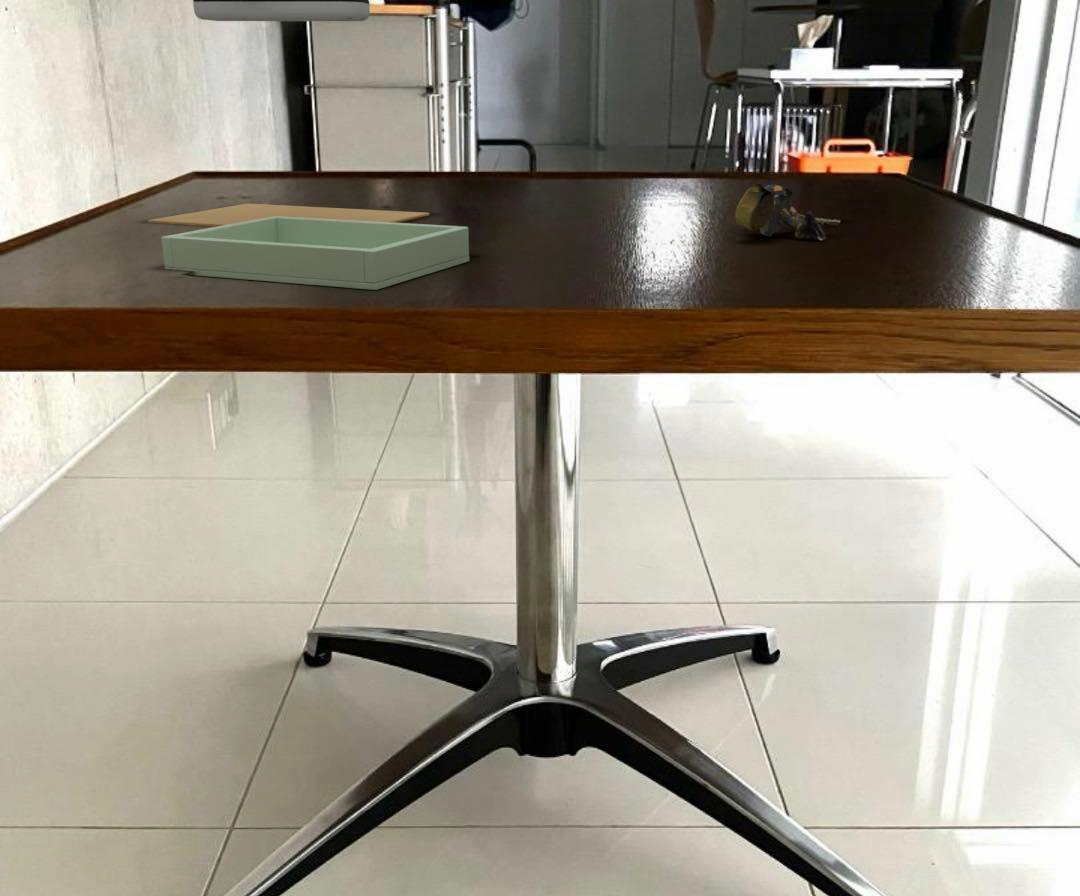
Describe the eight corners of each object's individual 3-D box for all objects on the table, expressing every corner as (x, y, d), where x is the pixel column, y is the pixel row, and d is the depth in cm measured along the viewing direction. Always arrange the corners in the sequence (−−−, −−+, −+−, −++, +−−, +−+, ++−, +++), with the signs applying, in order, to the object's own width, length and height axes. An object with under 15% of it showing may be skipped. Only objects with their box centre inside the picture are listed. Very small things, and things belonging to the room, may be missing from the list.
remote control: (359, 19, 90) (358, -11, 90) (189, 19, 91) (186, -11, 90) (373, 21, 96) (372, -7, 95) (213, 21, 97) (210, -7, 96)
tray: (164, 273, 82) (160, 236, 81) (276, 248, 93) (273, 215, 92) (376, 290, 76) (374, 251, 75) (469, 261, 87) (468, 226, 86)
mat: (148, 225, 106) (147, 220, 105) (247, 208, 117) (247, 203, 117) (344, 238, 98) (344, 231, 98) (429, 218, 110) (429, 212, 110)
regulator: (801, 230, 107) (700, 214, 96) (822, 186, 105) (721, 166, 94) (869, 267, 103) (771, 256, 92) (891, 223, 101) (794, 206, 90)
